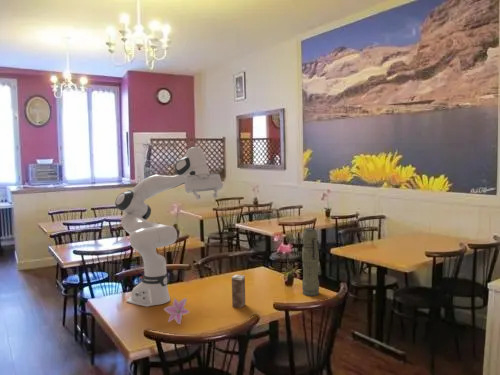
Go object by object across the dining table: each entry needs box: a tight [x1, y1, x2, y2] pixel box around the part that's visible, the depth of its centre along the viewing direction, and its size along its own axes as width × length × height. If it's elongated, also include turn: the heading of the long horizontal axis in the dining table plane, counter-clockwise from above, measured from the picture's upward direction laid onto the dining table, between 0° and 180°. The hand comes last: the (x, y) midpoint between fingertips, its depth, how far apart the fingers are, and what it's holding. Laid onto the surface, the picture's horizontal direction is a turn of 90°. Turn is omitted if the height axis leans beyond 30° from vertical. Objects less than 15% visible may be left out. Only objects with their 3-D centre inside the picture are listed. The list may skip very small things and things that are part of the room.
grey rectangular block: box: [231, 274, 246, 309], centre depth 216 cm, size 5×5×15 cm
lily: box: [163, 297, 190, 325], centre depth 200 cm, size 12×12×10 cm
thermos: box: [301, 227, 320, 297], centre depth 232 cm, size 9×12×35 cm
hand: (207, 197), depth 226 cm, fingers open, 8 cm apart
